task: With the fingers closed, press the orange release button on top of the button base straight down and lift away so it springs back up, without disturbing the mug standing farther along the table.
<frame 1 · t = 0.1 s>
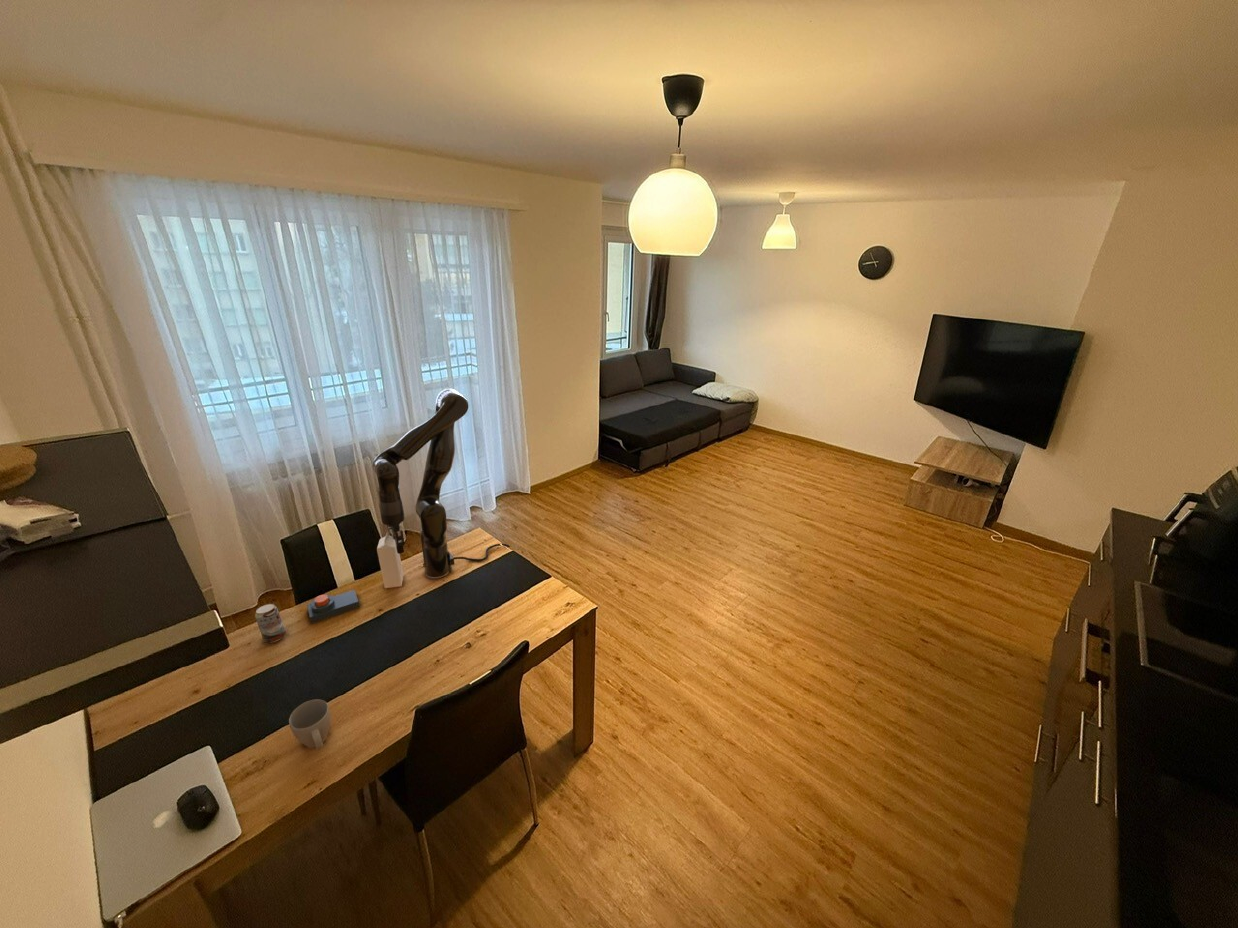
hand: (397, 546, 178), 17 cm above the table, tool pointing down, fingers open, 8 cm apart
milk: (394, 582, 186), on the table, touching gripper
mug: (317, 742, 127), on the table
button base: (334, 608, 171), on the table
release button: (321, 600, 167), point 5 cm above the table, slide at 0.1 cm
beverage can: (274, 637, 158), on the table
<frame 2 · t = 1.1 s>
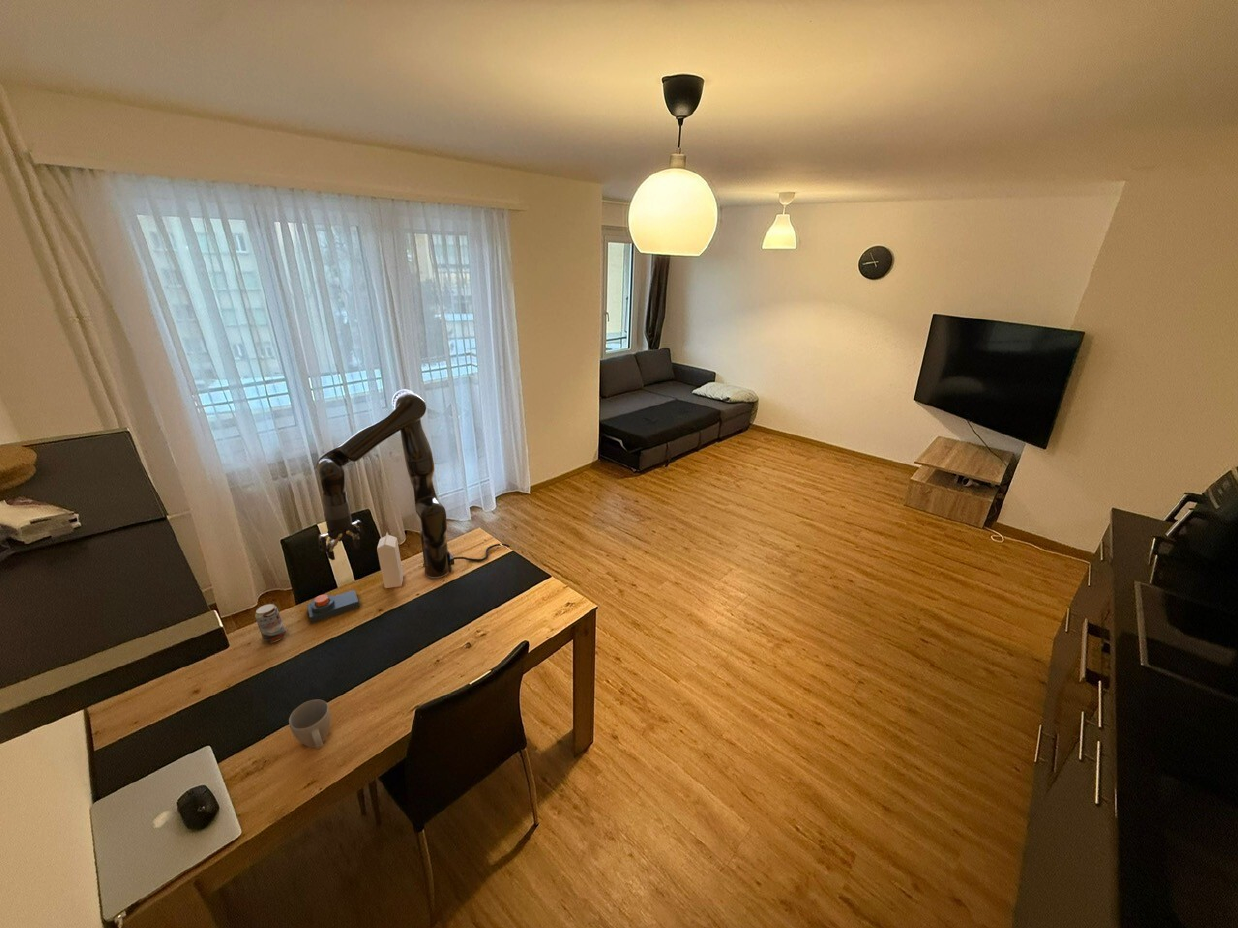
hand: (344, 553, 167), 21 cm above the table, tool pointing down, fingers open, 8 cm apart
milk: (394, 582, 186), on the table
everything else where it was.
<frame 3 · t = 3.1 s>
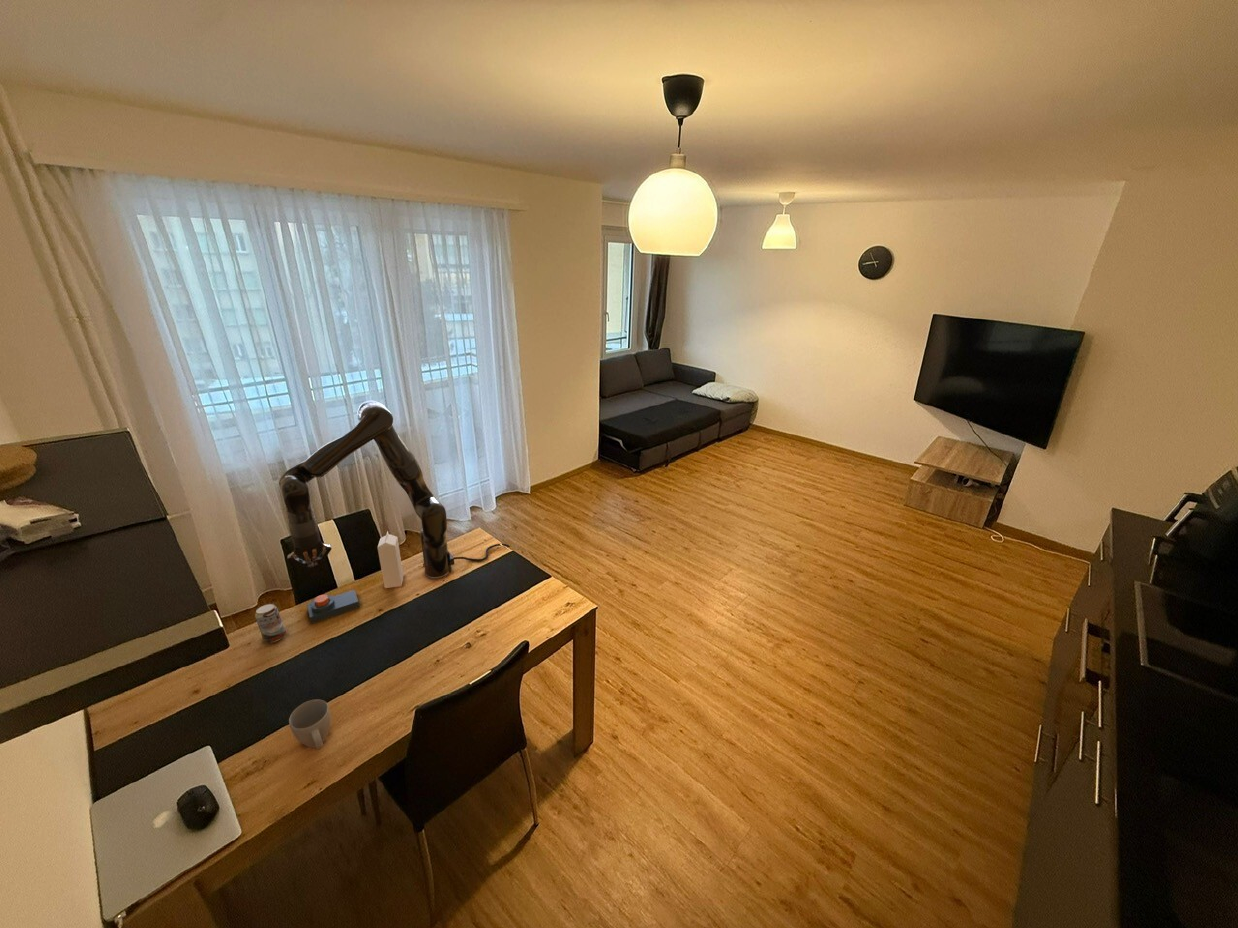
hand: (314, 573, 162), 17 cm above the table, tool pointing down, fingers closed
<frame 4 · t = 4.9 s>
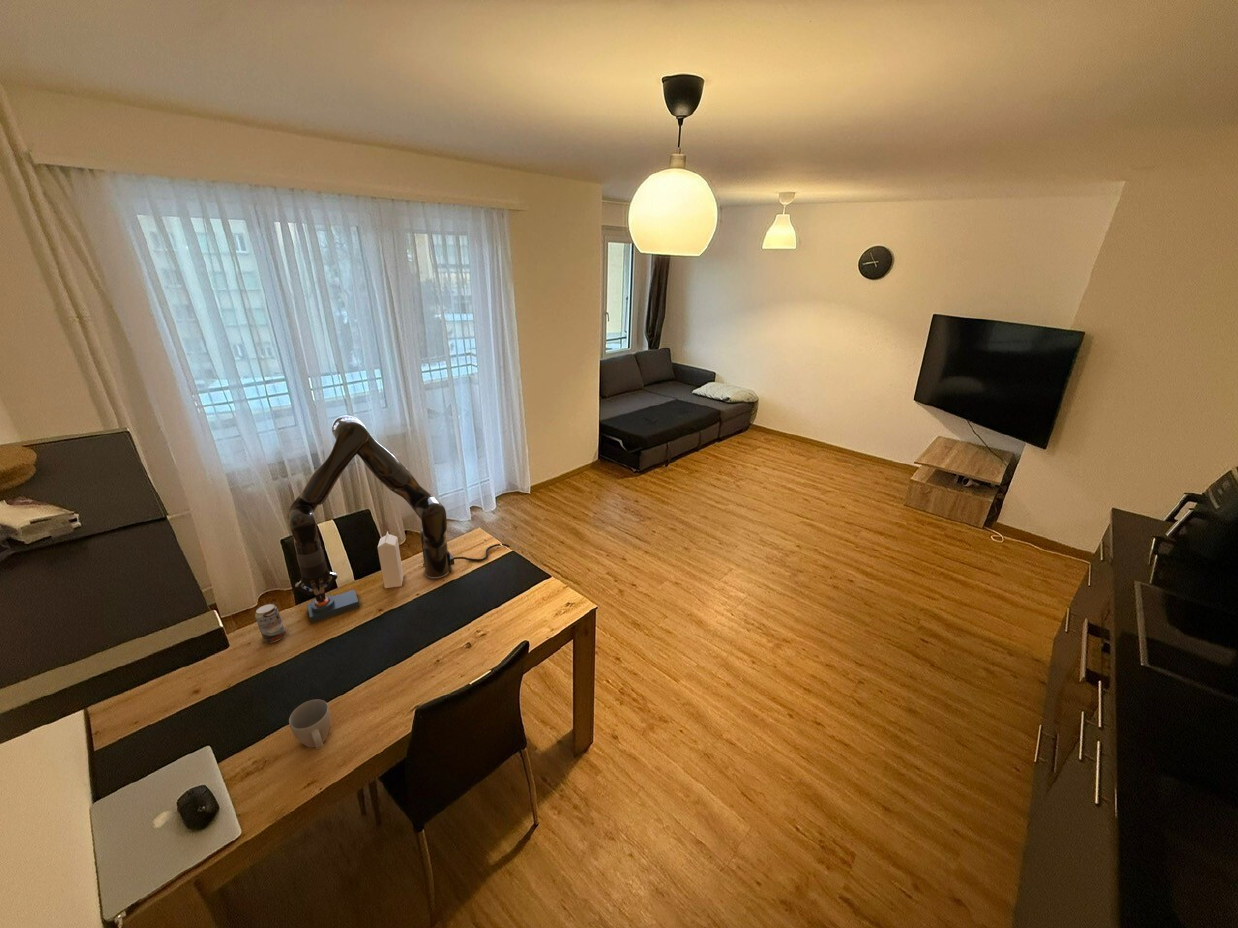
hand: (321, 600, 167), 5 cm above the table, tool pointing down, fingers closed
release button: (322, 602, 168), point 4 cm above the table, slide at -0.9 cm, touching gripper
everything else where it was.
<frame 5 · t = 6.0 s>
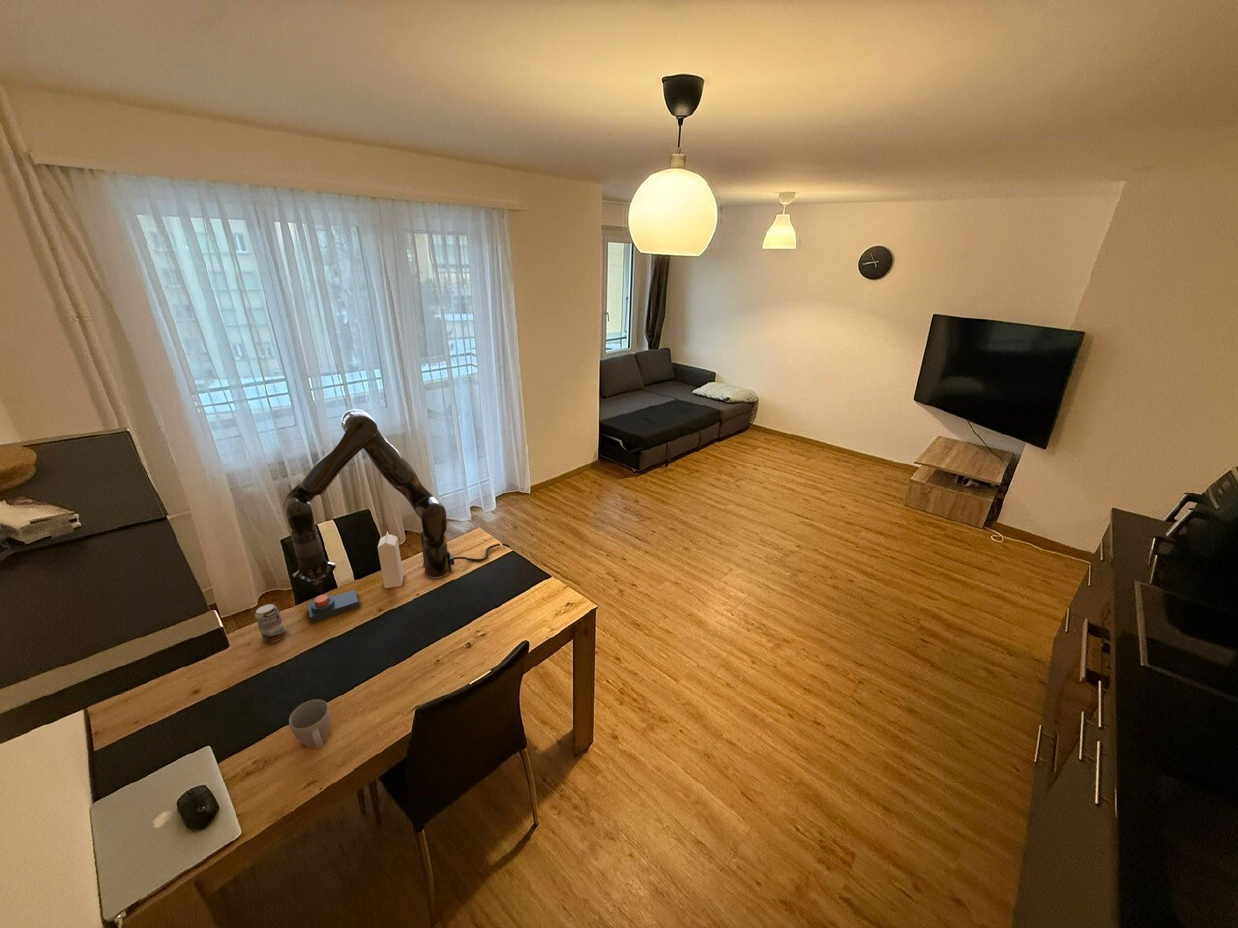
hand: (319, 590, 166), 9 cm above the table, tool pointing down, fingers closed
release button: (321, 600, 167), point 5 cm above the table, slide at 0.1 cm
everything else where it was.
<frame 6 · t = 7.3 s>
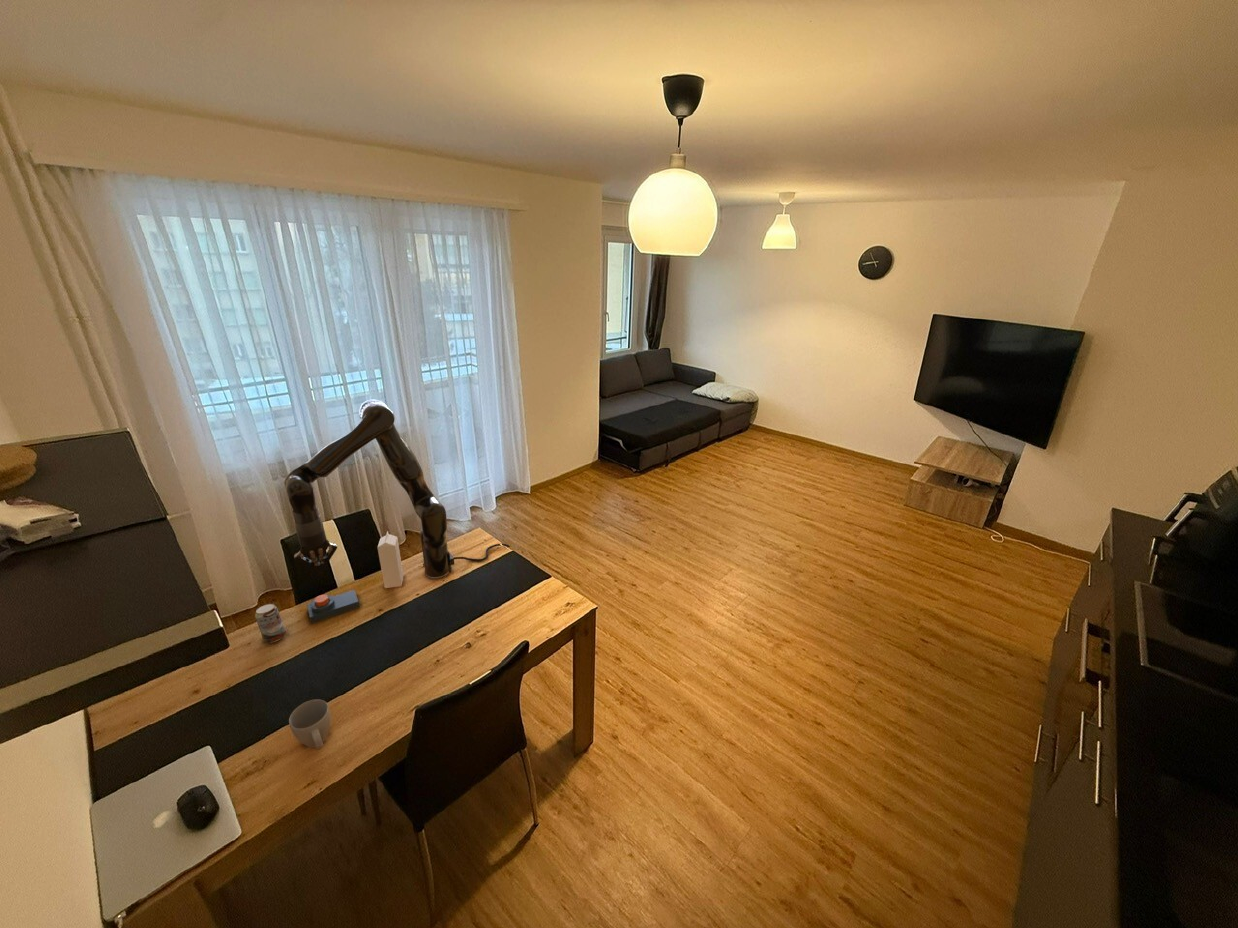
hand: (321, 572, 164), 16 cm above the table, tool pointing down, fingers closed
nothing on the table moved.
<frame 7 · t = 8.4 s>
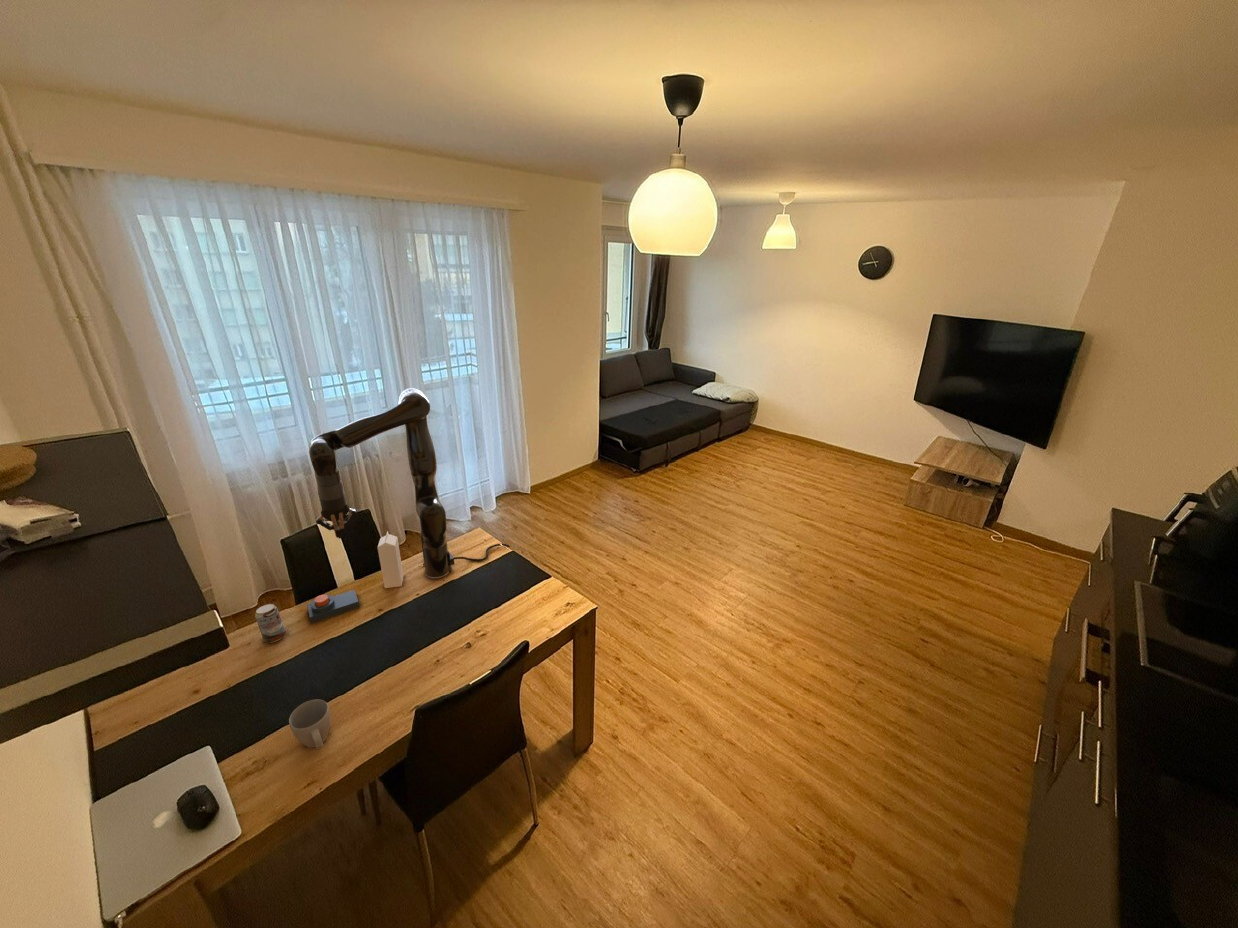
hand: (341, 537, 169), 25 cm above the table, tool pointing down, fingers closed
nothing on the table moved.
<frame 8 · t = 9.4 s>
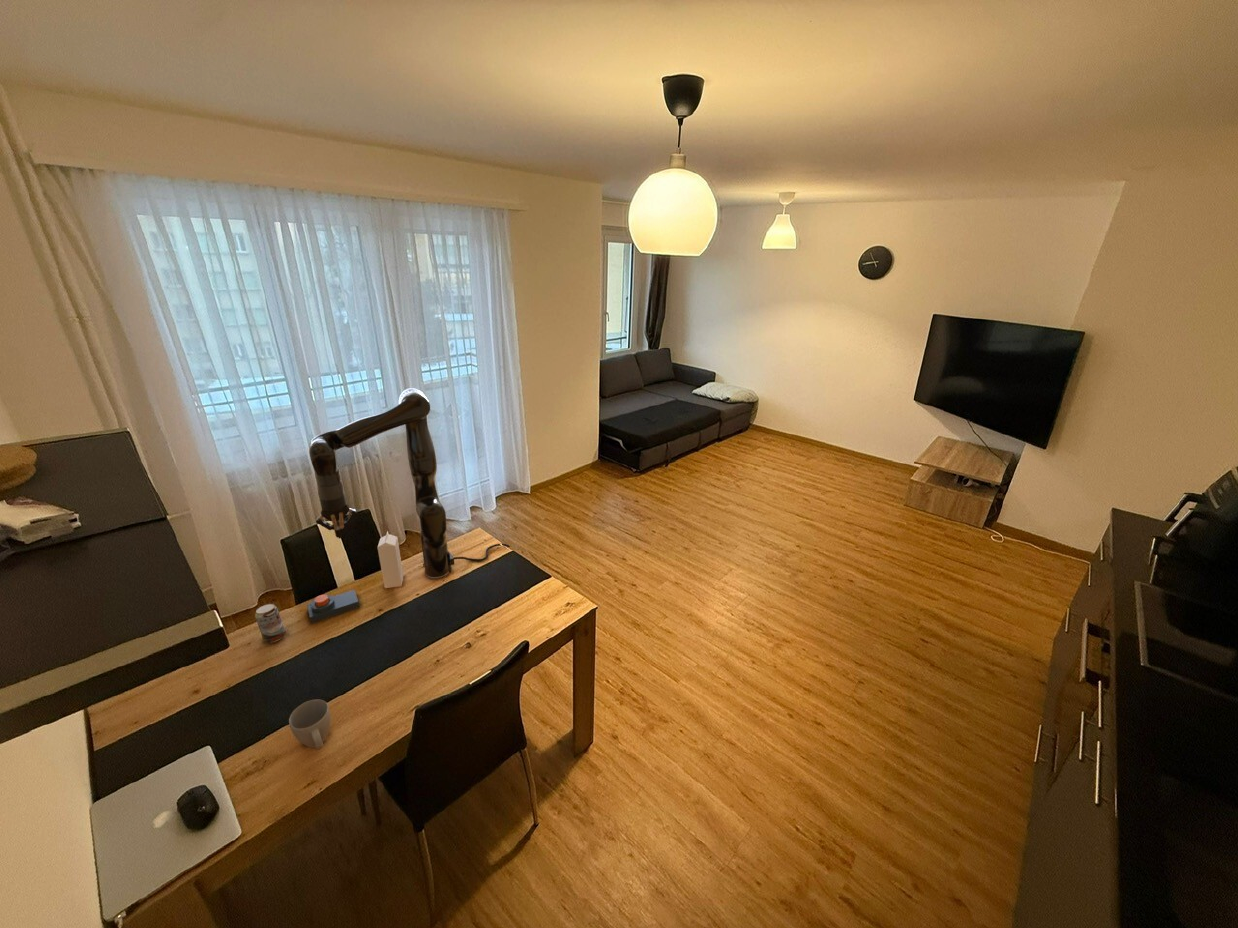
hand: (340, 537, 169), 25 cm above the table, tool pointing down, fingers closed
nothing on the table moved.
at the end: release button pushed in 1.1 cm at the most during the clip, back to where it started at the end; release button slide at 0.1 cm; mug moved 0.2 cm from its start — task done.
